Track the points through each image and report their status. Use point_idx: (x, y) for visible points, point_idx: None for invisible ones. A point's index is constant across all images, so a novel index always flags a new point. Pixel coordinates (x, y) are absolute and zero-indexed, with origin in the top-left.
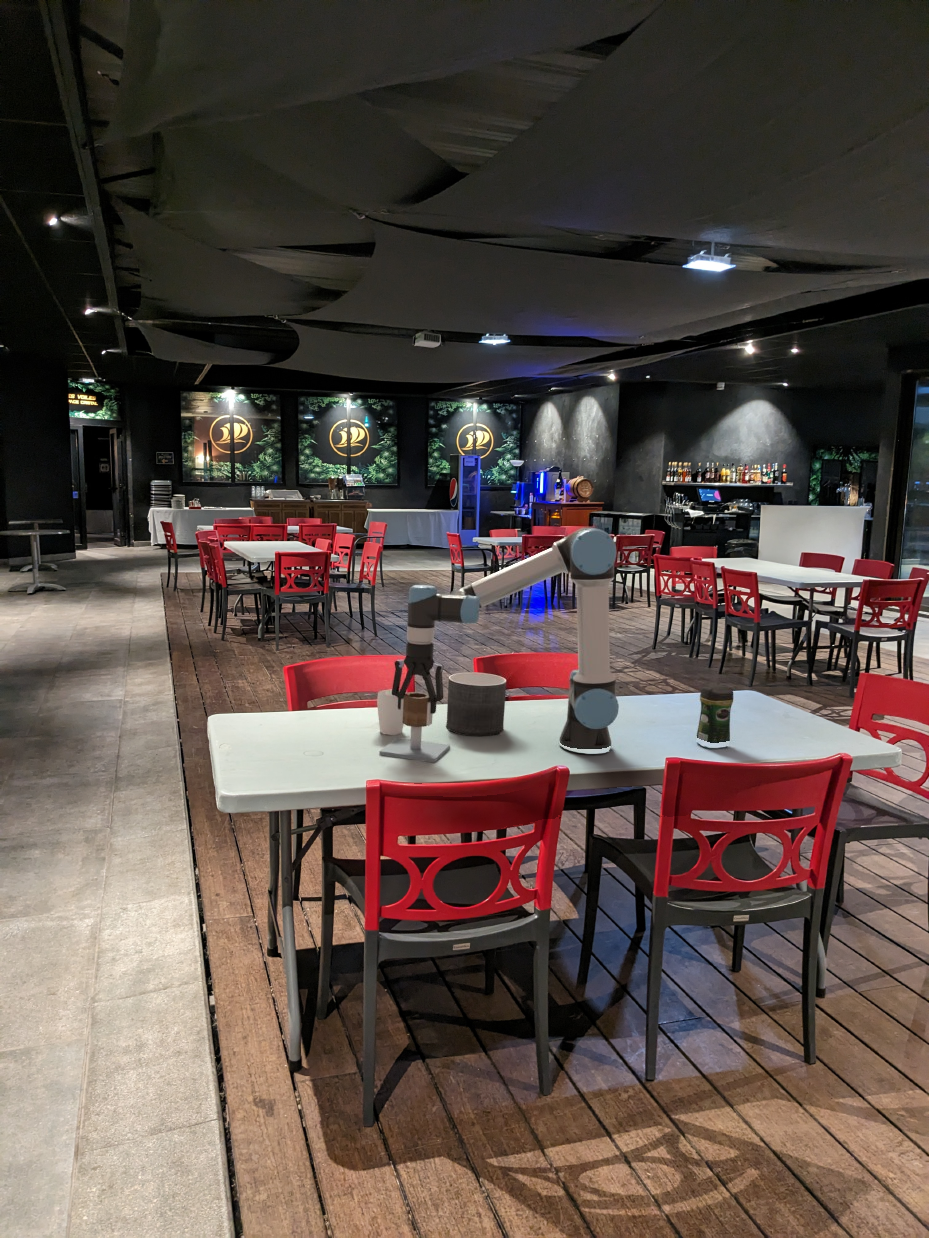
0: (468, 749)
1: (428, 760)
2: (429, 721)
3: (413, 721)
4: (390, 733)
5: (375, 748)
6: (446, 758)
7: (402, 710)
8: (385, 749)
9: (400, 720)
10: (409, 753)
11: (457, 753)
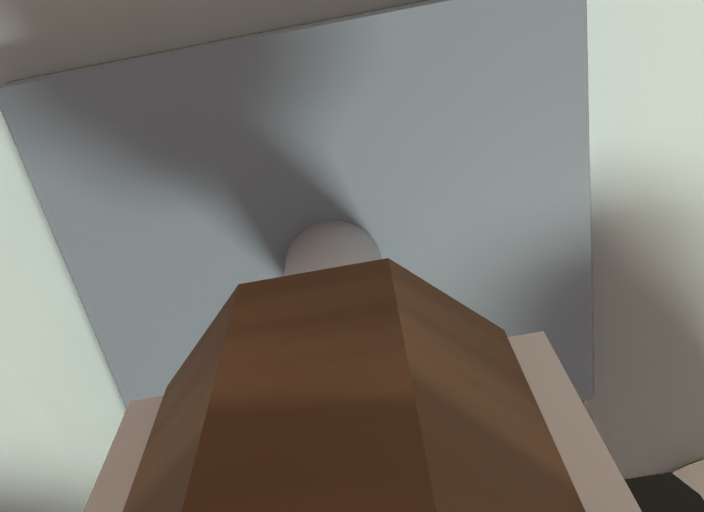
0: (41, 497)
1: (65, 72)
2: (118, 451)
3: (286, 313)
4: (692, 468)
5: (677, 121)
6: (14, 243)
7: (571, 454)
8: (552, 61)
9: (544, 344)
10: (290, 92)
11: (37, 390)
